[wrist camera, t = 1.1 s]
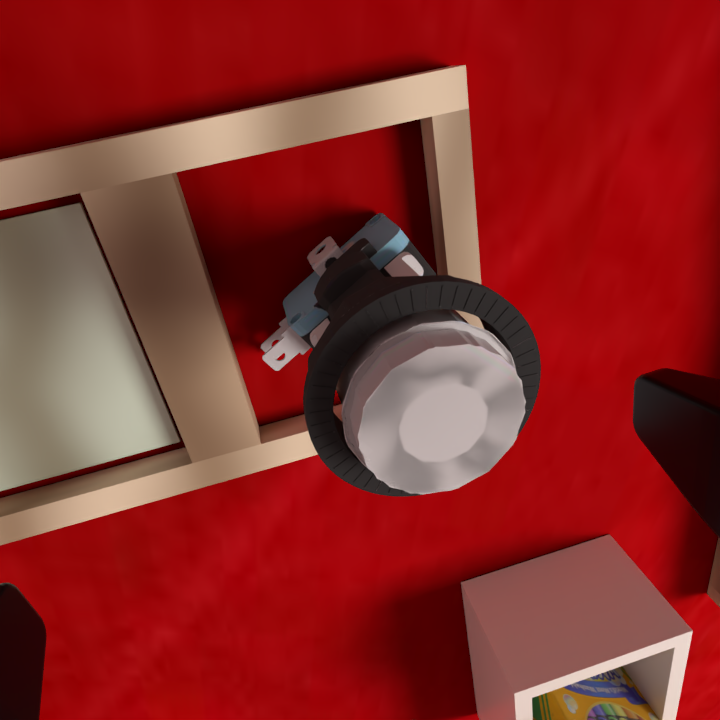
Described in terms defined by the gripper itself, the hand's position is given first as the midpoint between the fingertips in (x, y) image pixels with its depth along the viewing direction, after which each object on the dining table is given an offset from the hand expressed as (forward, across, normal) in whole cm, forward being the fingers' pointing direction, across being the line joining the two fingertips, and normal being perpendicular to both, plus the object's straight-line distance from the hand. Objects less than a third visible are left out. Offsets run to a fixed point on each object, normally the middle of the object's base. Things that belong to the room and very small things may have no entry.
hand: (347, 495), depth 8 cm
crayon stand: (+13, -8, +26) cm, 30 cm away
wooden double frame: (+13, +4, +2) cm, 13 cm away
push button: (+13, -2, +2) cm, 13 cm away
